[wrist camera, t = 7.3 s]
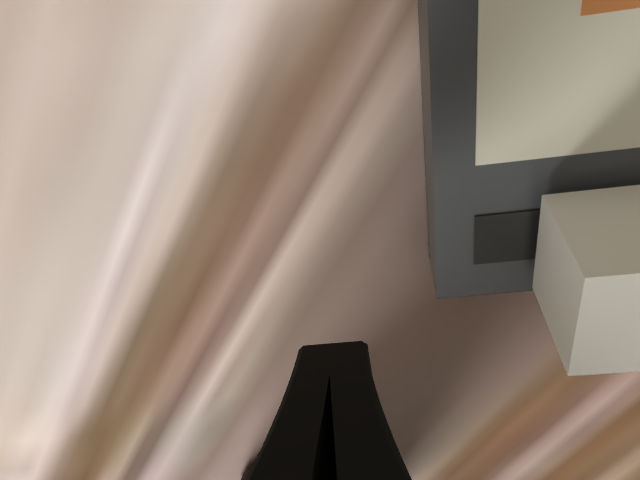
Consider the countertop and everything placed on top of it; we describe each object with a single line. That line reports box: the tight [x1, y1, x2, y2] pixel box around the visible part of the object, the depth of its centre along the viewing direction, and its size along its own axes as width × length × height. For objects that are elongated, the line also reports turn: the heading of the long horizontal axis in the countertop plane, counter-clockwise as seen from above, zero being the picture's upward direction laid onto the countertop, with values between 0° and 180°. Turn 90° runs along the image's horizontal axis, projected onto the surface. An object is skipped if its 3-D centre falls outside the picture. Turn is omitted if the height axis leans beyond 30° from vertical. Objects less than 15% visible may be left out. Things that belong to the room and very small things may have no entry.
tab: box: [532, 185, 640, 376], centre depth 13 cm, size 3×3×3 cm
